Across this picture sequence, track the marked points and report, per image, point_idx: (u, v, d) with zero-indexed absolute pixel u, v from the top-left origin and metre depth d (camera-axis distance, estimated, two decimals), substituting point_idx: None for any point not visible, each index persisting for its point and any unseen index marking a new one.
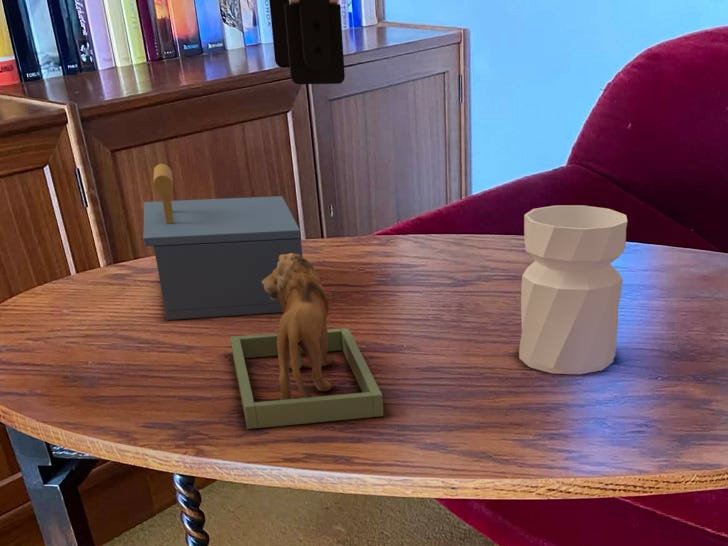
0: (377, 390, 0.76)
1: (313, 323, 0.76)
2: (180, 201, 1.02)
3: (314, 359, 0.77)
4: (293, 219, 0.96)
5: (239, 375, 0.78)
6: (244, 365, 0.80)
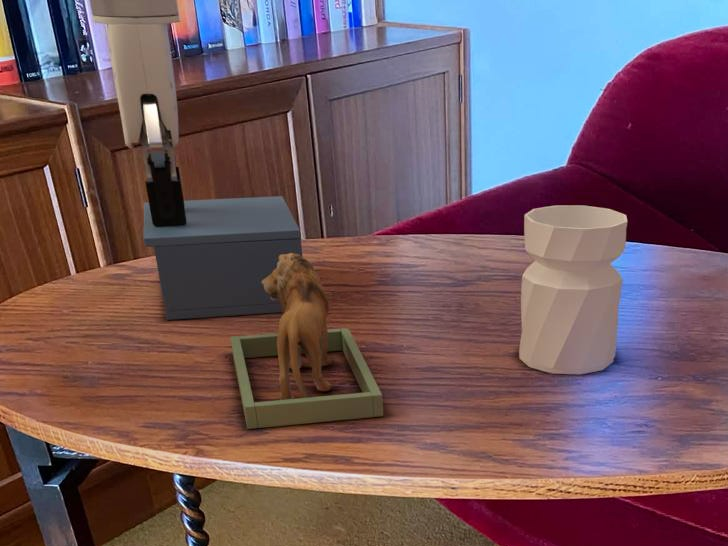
0: (377, 390, 0.76)
1: (313, 323, 0.76)
2: None
3: (314, 359, 0.77)
4: (293, 219, 0.96)
5: (239, 375, 0.78)
6: (244, 365, 0.80)
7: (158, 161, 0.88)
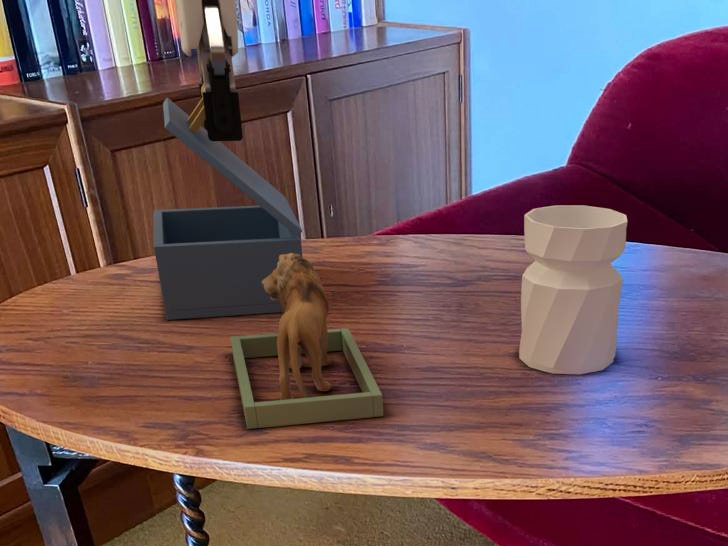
0: (377, 390, 0.76)
1: (313, 323, 0.76)
2: None
3: (314, 359, 0.77)
4: (296, 219, 0.96)
5: (239, 375, 0.78)
6: (244, 365, 0.80)
7: (218, 68, 0.85)
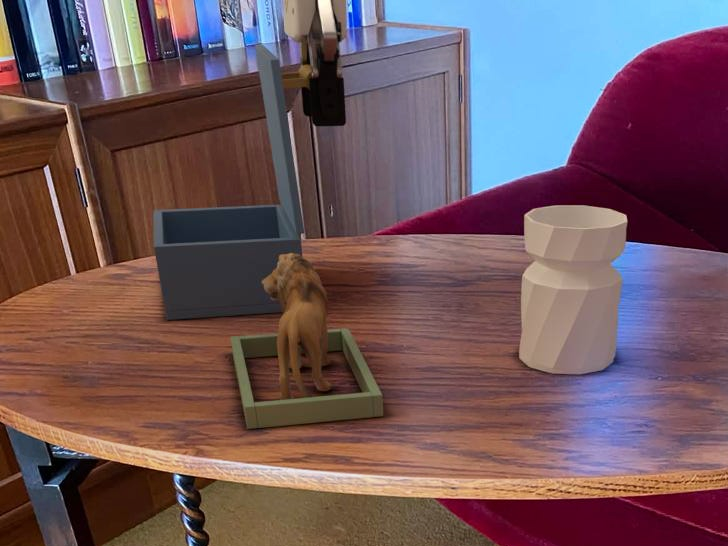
0: (377, 390, 0.76)
1: (313, 323, 0.76)
2: None
3: (314, 359, 0.77)
4: None
5: (239, 375, 0.78)
6: (244, 365, 0.80)
7: (329, 53, 0.86)
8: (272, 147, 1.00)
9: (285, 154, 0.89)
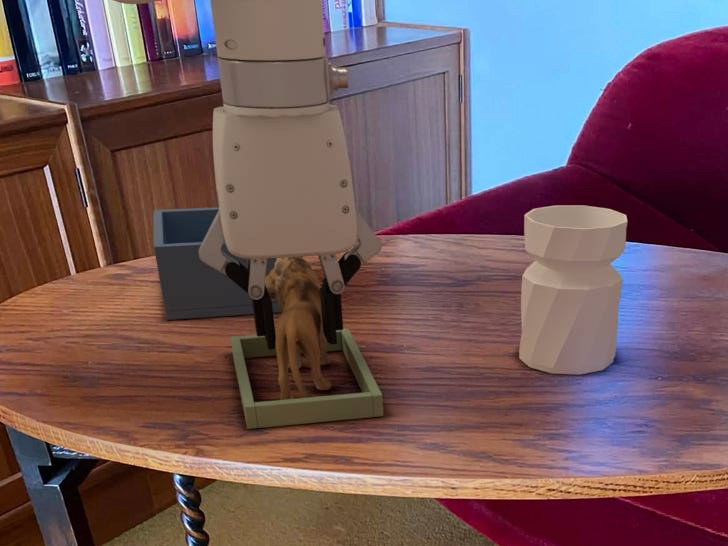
0: (377, 390, 0.76)
1: (311, 322, 0.76)
2: None
3: (313, 358, 0.77)
4: None
5: (239, 375, 0.78)
6: (244, 365, 0.80)
7: None
8: None
9: None
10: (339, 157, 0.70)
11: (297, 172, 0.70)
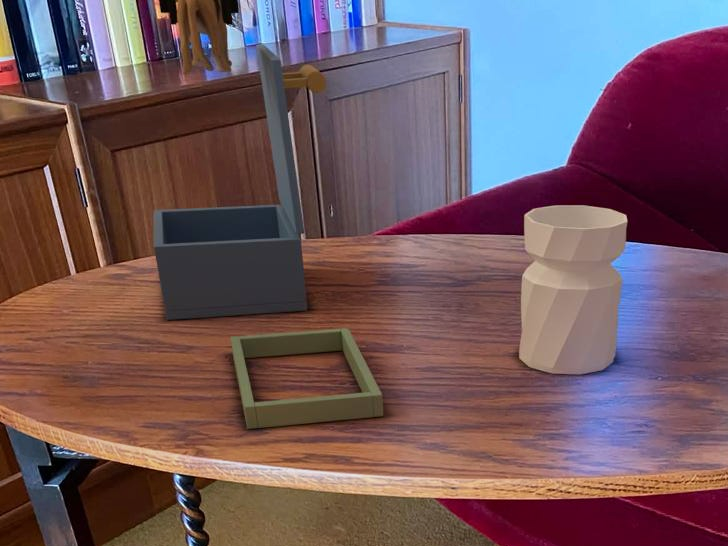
0: (377, 390, 0.76)
1: None
2: None
3: (213, 33, 0.84)
4: None
5: (239, 375, 0.78)
6: (244, 365, 0.80)
7: None
8: (272, 147, 1.00)
9: (286, 154, 0.89)
10: None
11: None
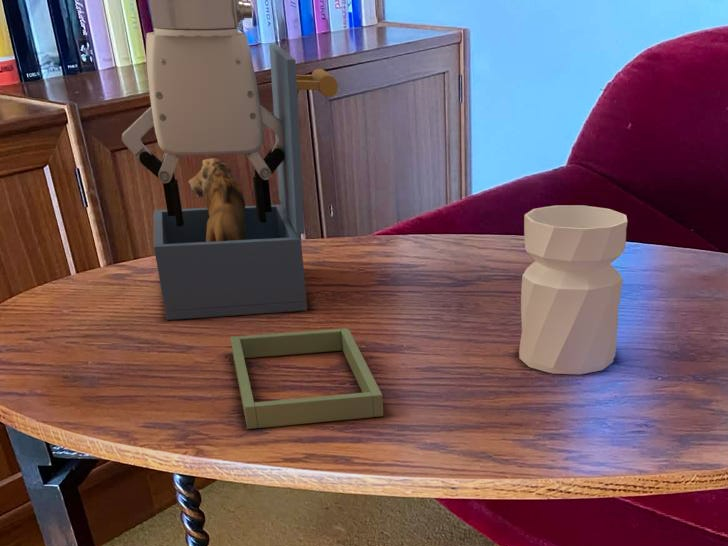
0: (377, 390, 0.76)
1: (234, 224, 0.96)
2: None
3: None
4: None
5: (239, 375, 0.78)
6: (244, 365, 0.80)
7: None
8: None
9: (293, 153, 0.89)
10: (246, 73, 0.89)
11: (212, 83, 0.89)
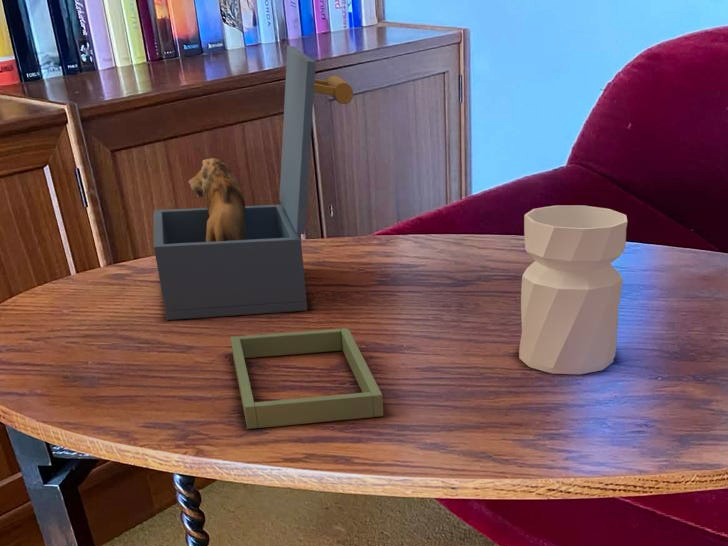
0: (377, 390, 0.76)
1: (234, 224, 0.96)
2: None
3: None
4: None
5: (239, 375, 0.78)
6: (244, 365, 0.80)
7: None
8: (284, 146, 1.01)
9: (302, 154, 0.89)
10: None
11: None
